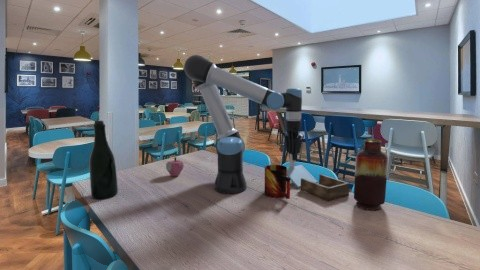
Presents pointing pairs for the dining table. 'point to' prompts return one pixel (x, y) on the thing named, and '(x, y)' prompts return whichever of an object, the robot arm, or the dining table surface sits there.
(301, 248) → the dining table surface
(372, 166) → the vase
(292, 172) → the pale blue square panel
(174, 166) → the apple
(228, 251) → the dining table surface
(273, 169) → the mug
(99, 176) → the beer bottle
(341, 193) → the crate
